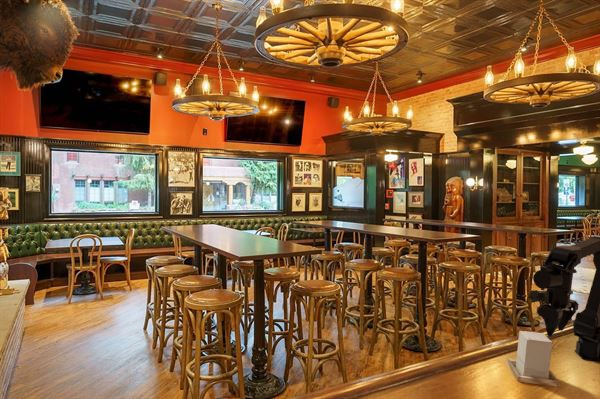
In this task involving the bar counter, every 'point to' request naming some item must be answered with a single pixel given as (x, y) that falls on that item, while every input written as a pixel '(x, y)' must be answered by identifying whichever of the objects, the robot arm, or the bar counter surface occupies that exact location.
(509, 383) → the bar counter surface
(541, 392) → the bar counter surface
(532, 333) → the supplement box
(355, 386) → the bar counter surface
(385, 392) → the bar counter surface
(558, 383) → the tray rim
